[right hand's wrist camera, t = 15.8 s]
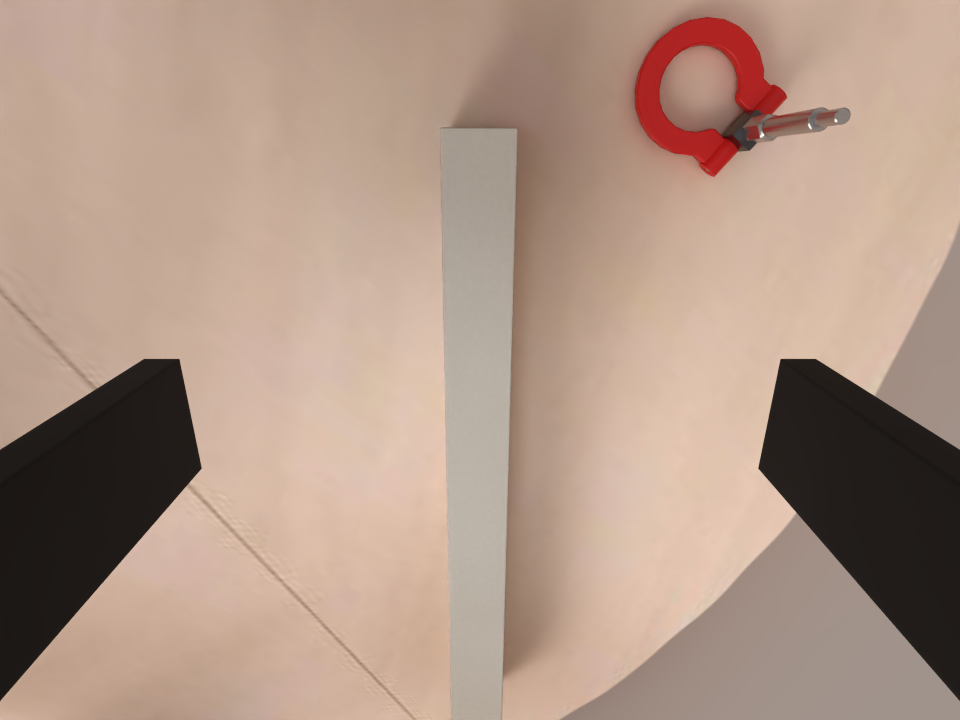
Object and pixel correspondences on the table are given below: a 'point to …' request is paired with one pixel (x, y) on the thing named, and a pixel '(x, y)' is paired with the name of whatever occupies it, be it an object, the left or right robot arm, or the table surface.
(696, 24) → the tow hook
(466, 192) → the beam
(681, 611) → the table surface
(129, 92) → the table surface
